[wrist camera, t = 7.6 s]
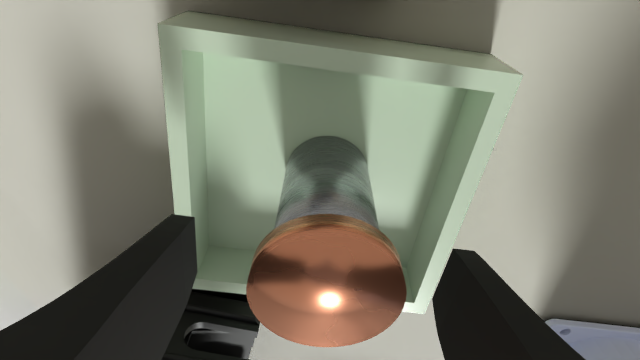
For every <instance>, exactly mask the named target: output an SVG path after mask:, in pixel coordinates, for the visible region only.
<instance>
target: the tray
mask: <svg viewBox="0 0 640 360" xmlns="http://www.w3.org/2000/svg"><path fill="white" fill-rule="evenodd" d="M158 34H159V45H160V56H161V67H162V79H163V90H164V101H165V112H166V124H167V135H168V146H169V157H170V168H171V180H172V191H173V202H174V213H175V215H183V216H191V217H195V233H196V252H197V271H198V272H197V275H196V278H195V281H194V284H193V288H192V289H200V290H209V291H219V292H228V293H237V294H246V286H247V281H248V276H249V272H250V268H251V264H252V260H253V256H254V254H255V251H256V249H257V247H258V245H259V244H260V242H261V241H262V240H263V239H264V238H265V236H266V235H268V234H269V233H270V232H271V231H272V230H274V227H275V222H276V217H277V212H278V207H279V202H280V197H281V192H282V187H283V181H284V176H285V171H286V166H287V162H288V159H289V157H290V155H291V153H292V152H293V151H294V150H295V148H297V147H298V146H299V145H300V144H301V143H303V142H305V141H306V140H308V139H311V138H314V137H318V136H336V137H340V138H343V139H346V140H348V141H349V142H351V143H353V144H354V145H355V146H356V147H357V148H359V150H360V151H361V152H362V154H363V155H364V157H365V159H366V162H367V166H368V171H369V177H370V182H371V188H372V193H373V199H374V204H375V210H376V215H377V220H378V226H379V230H380V231H381V232H382V233H384V234H385V235H386V236H387V237H388V238H389V239H390V241H391V242H392V243H393V245H394V246H395V248H396V250H397V252H398V254H399V257H400V261H401V265H402V270H403V274H404V278H405V283H406V289H407V295H406V301H405V304H404V307H403V309H402V311H401V312H410V313H419V314H425V312H426V309H427V307H428V304H429V302H430V300H431V297H432V295H433V292H434V290H435V288H436V285H437V283H438V280H439V278H440V275H441V273H442V271H443V268H444V266H445V263H446V261H447V259H448V256H449V254H450V251H451V249H452V246H453V244H454V242H455V239H456V237H457V234H458V232H459V230H460V227H461V225H462V222H463V220H464V217H465V215H466V213H467V210H468V208H469V205H470V203H471V201H472V198H473V196H474V193H475V191H476V188H477V186H478V184H479V181H480V179H481V176H482V174H483V172H484V169H485V167H486V164H487V162H488V159H489V157H490V155H491V152H492V150H493V147H494V145H495V143H496V140H497V138H498V135H499V133H500V130H501V128H502V126H503V123H504V121H505V118H506V116H507V114H508V111H509V109H510V106H511V104H512V101H513V99H514V97H515V94H516V92H517V89H518V87H519V85H520V82H521V80H522V77H523V75H522V74H521V73H519V72H518V71H516V70H515V69H513V68H512V67H510V66H509V65H507V64H505V63H504V62H502V61H501V60H499V59H498V58H496V57H495V56H493V55H492V54H486V53H479V52H472V51H465V50H458V49H451V48H444V47H437V46H430V45H423V44H416V43H409V42H402V41H395V40H388V39H381V38H374V37H367V36H360V35H353V34H346V33H339V32H332V31H325V30H318V29H311V28H304V27H297V26H290V25H283V24H276V23H269V22H262V21H255V20H248V19H241V18H234V17H227V16H220V15H213V14H206V13H199V12H192V11H186V12H184V13H182V14H179V15H177V16H174V17H172V18H170V19H167V20H165V21H162V22H160V23H158Z"/></svg>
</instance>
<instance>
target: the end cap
mask: <svg viewBox="0 0 640 360" xmlns="http://www.w3.org/2000/svg"><path fill="white" fill-rule="evenodd" d="M259 325H260V321H259V320H258V319H257V318H256V316H255V315H254V314H253V312H252V310H251V308H250V306H249V303H248V300H247V295H246V294H237V293H228V292H219V291H209V290H200V289H192V291H191V294H190V297H189V300H188V303H187V305H186V308H185V310H184V312H183V314H182V316H181V319H180V321H179V323H178V325H177V327H176V329H175V332H174V334H173V336H172V338H171V340H170V342H169V344H168V347H167V349H166V351H165V353H164V355H163V357H162V359H161V360H249V359H248V358H249V354H250V350H251V347H253V343H254V339H255V338H257V334H258V330H259Z"/></svg>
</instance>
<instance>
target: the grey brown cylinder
mask: <svg viewBox="0 0 640 360" xmlns="http://www.w3.org/2000/svg"><path fill="white" fill-rule="evenodd" d="M246 295H247V300H248V303H249V306H250V308H251V310H252V312H253V314H254V315H255V316H256V318H257V319H258V320H259V321H260V322H261V323H262V324H263V325H264V326H265V327H266V328H268V329H269V330H270V331H272V332H273V333H275V334H277V335H278V336H280V337H283V338H285V339H287V340H290V341H293V342H296V343H299V344H303V345H309V346H316V347H339V346H346V345H352V344H355V343H359V342H362V341H365V340H368V339H370V338H372V337H374V336H376V335H378V334H379V333H381V332H383V331H384V330H385V329H387V328H388V327H389V326H390V325H391V324H392V323H393V322H394V321H395V320H396V319H397V318H398V316H399V315H400V313H401V311H402V309H403V307H404V304H405V301H406V295H407V289H406V283H405V278H404V274H403V270H402V265H401V261H400V257H399V254H398V252H397V250H396V248H395V246H394V245H393V243H392V242H391V241H390V239H389V238H388V237H387V236H386V235H385V234H384V233H382V232H381V231H380V230H379V226H378V220H377V215H376V210H375V204H374V199H373V193H372V188H371V182H370V177H369V171H368V166H367V162H366V159H365V157H364V155H363V154H362V152H361V151H360V150H359V148H357V147H356V146H355V145H354V144H353V143H351V142H349V141H348V140H346V139H343V138H340V137H336V136H318V137H314V138H311V139H308V140H306V141H305V142H303V143H301V144H300V145H299V146H298V147H297V148H295V150H294V151H293V152H292V153H291V155H290V157H289V159H288V162H287V166H286V171H285V176H284V181H283V187H282V192H281V197H280V202H279V207H278V212H277V217H276V222H275V227H274V230H272V231H271V232H270V233H269V234H268V235H266V236H265V238H264V239H263V240H262V241H261V242H260V244H259V245H258V247H257V249H256V251H255V254H254V256H253V260H252V264H251V268H250V272H249V276H248V281H247V286H246Z"/></svg>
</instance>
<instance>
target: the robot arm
mask: <svg viewBox="0 0 640 360" xmlns="http://www.w3.org/2000/svg"><path fill="white" fill-rule="evenodd" d="M197 272H198V271H197V252H196V233H195V217H191V216H183V215H174V214H172V215H171V216H169V217H168V218H166V219H165V220H164V221H163V222H161V223H160V224H159V225H157V226H156V227H155V228H154V229H152V230H151V231H150V232H149V233H147V234H146V235H145V236H144V237H142V238H141V239H140V240H138V241H137V242H136V243H135V244H133V245H132V246H131V247H129V248H128V249H127V250H125V251H124V252H123V253H122V254H120V255H119V256H118V257H116V258H115V259H114V260H112V261H111V262H110V263H108V264H107V265H105V266H104V267H103V268H101V269H100V270H98V271H97V272H96V273H94V274H93V275H91V276H90V277H88V278H87V279H85V280H84V281H82V282H81V283H80V284H78V285H77V286H75V287H74V288H72V289H71V290H69V291H68V292H66V293H65V294H63V295H62V296H60V297H58V298H57V299H55V300H54V301H52V302H50V303H49V304H47V305H45V306H44V307H42V308H40V309H38V310H37V311H35V312H33V313H32V314H30V315H28V316H27V317H25V318H23V319H21V320H20V321H18V322H16V323H14V324H12V325H10V326H9V327H7V328H5V329H3V330H1V331H0V360H161V359H162V357H163V355H164V353H165V351H166V349H167V347H168V344H169V342H170V340H171V338H172V336H173V334H174V332H175V329H176V327H177V325H178V323H179V321H180V319H181V316H182V314H183V312H184V310H185V308H186V305H187V303H188V300H189V297H190V294H191V291H192V288H193V284H194V281H195V278H196V275H197ZM432 300H433V307H434V315H435V321H436V327H437V333H438V337H439V341H440V344H441V348H442V351H443V355H444V358H445V360H640V328H634V327H625V326H616V325H607V324H598V323H589V322H580V321H571V320H562V319H550V320H547V321H546V322H544V321H543V320H542V319H541V318H540V317H539V316H538V315H537V314H536V313H535V312H534V311H533V310H532V309H531V308H530V307H529V306H528V305H527V304H526V303H525V302H524V301H523V300H522V299H521V298H520V297H519V296H518V295H517V294H516V293H515V292H514V291H513V290H512V289H511V288H510V287H509V286H508V285H507V284H506V283H505V282H504V280H503V279H502V278H501V277H500V276H499V275H498V274H497V273H496V272H495V271H494V270H493V269H492V268H491V267H490V266H489V265H488V264H487V263H486V262H485V261H484V260H483V259H482V258H481V257H480V256H479V255H478V254H477V253H476V252H475V251H469V250H461V249H453V250H452V253H451V255H450V257H449V260H448V262H447V265H446V267H445V269H444V272H443V274H442V277H441V279H440V282H439V284H438V286H437V289H436V291H435V294H434V296H433V298H432Z"/></svg>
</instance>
